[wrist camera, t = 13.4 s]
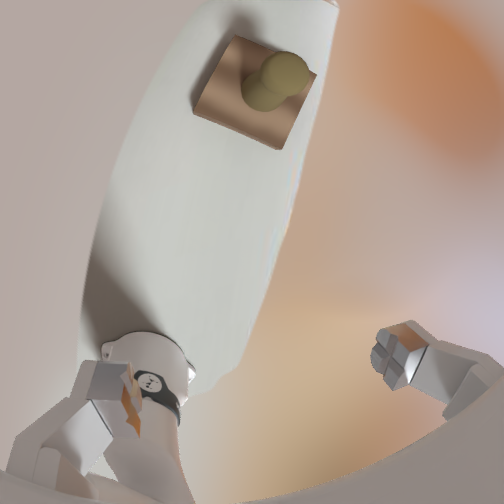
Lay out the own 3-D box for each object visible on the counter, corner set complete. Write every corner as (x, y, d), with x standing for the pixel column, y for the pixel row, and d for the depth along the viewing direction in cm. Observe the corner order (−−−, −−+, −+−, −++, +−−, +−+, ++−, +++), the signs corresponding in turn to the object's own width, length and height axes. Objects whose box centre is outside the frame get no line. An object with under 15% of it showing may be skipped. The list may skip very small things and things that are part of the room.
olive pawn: (241, 69, 30) (261, 39, 20) (285, 74, 32) (318, 50, 22) (239, 110, 32) (258, 93, 22) (283, 114, 34) (318, 101, 24)
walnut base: (275, 149, 38) (281, 149, 35) (193, 114, 34) (193, 110, 31) (308, 79, 35) (316, 74, 32) (232, 42, 31) (235, 34, 28)
